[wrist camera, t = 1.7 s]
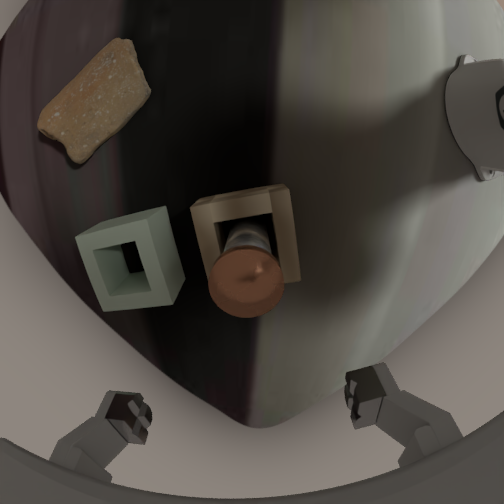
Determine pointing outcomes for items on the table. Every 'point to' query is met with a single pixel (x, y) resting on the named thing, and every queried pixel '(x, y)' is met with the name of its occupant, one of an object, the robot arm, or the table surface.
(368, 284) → the table surface
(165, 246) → the socket block
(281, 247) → the mount block
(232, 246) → the pin
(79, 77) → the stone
